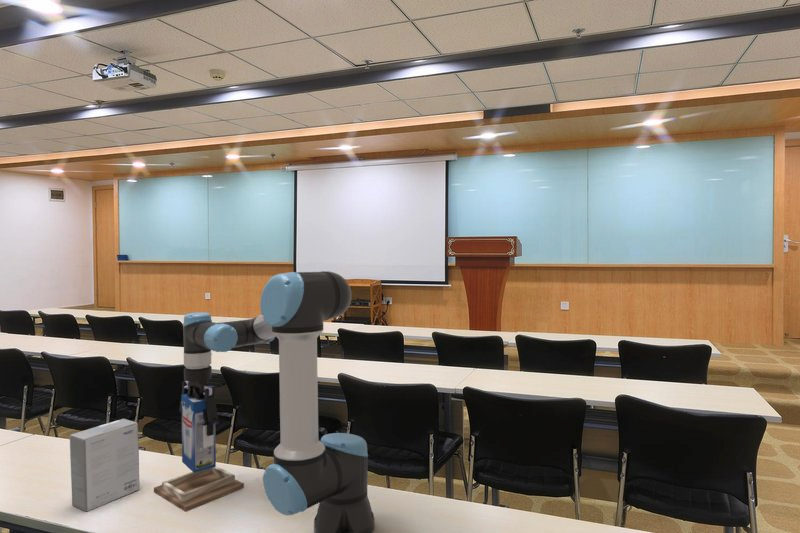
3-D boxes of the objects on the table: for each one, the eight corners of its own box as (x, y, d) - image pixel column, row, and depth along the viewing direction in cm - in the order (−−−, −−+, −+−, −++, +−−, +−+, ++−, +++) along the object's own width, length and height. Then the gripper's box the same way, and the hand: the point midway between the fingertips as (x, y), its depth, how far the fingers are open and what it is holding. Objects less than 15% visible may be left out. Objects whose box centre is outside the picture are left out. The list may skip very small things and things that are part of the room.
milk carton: (215, 466, 147) (215, 398, 146) (193, 472, 142) (193, 402, 142) (203, 456, 154) (202, 391, 154) (182, 461, 150) (181, 394, 149)
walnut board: (243, 487, 150) (243, 476, 150) (185, 511, 136) (185, 499, 136) (210, 471, 161) (210, 461, 161) (153, 491, 147) (153, 480, 147)
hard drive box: (125, 483, 152) (124, 417, 152) (140, 489, 148) (139, 422, 148) (70, 505, 139) (69, 433, 138) (85, 513, 135) (84, 438, 135)
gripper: (231, 369, 143) (231, 447, 144) (190, 358, 158) (190, 429, 158) (206, 374, 137) (207, 455, 138) (166, 362, 152) (166, 436, 152)
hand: (198, 441), depth 148 cm, fingers closed on milk carton, 10 cm apart
